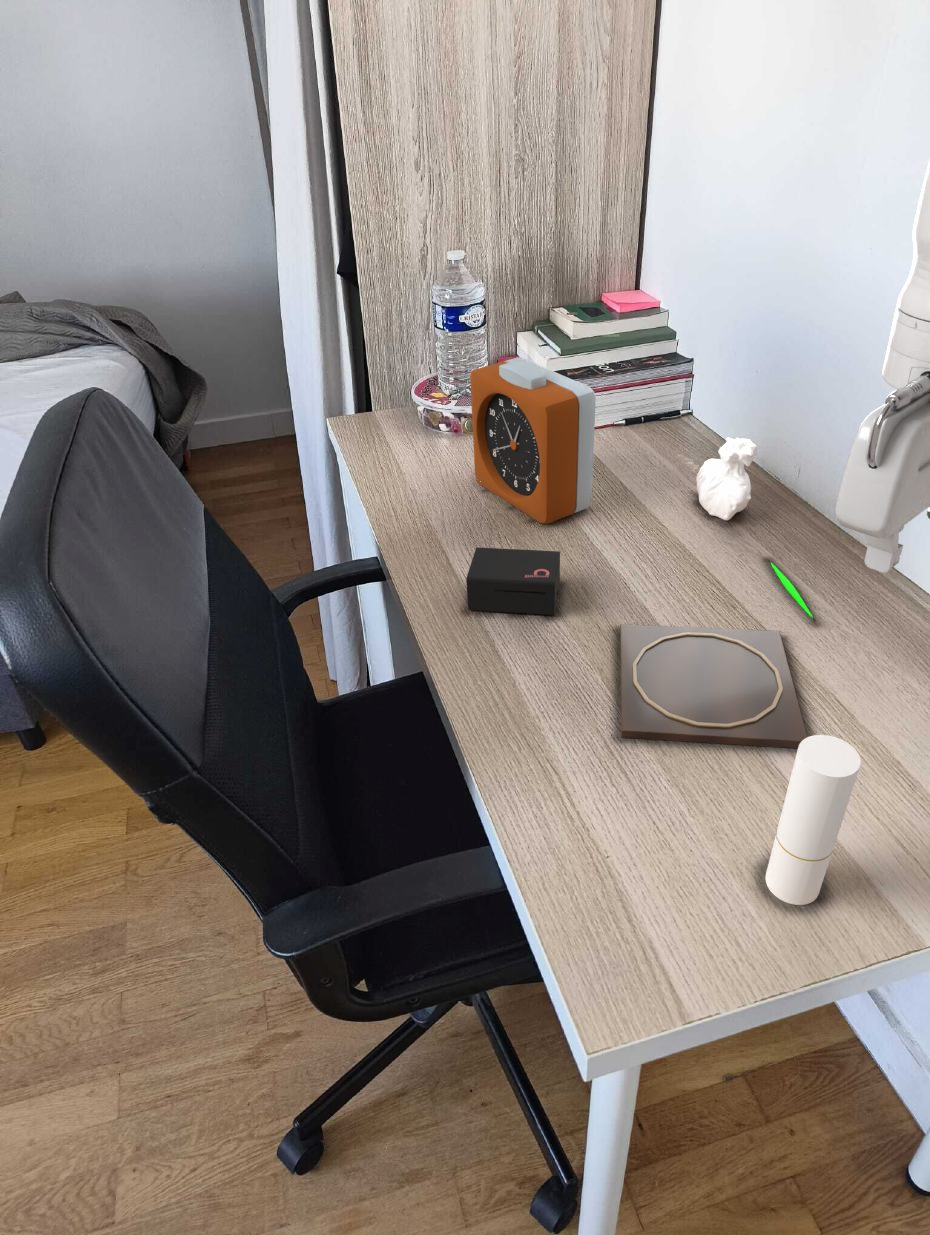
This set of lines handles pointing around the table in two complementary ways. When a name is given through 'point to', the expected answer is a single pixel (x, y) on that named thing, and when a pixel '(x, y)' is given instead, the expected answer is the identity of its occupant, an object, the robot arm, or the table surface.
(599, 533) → the table surface
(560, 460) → the alarm clock
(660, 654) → the board
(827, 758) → the tube
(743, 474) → the white tied bag
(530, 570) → the electronic device
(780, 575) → the leaf
